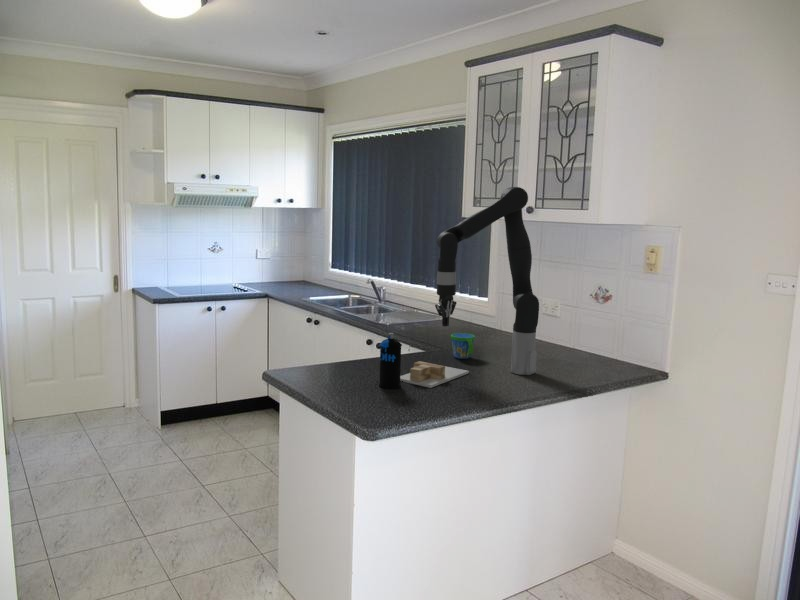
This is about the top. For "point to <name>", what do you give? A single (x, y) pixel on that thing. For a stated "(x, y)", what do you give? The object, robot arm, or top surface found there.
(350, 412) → the top surface
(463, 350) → the snack cup
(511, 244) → the robot arm
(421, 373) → the t block
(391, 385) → the aerosol can
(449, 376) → the mat
